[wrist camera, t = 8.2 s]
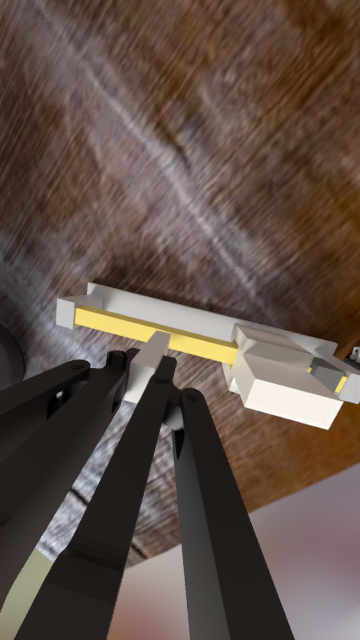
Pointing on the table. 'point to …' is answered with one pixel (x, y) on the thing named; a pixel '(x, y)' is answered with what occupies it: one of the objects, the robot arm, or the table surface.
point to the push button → (354, 359)
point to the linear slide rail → (196, 325)
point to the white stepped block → (278, 378)
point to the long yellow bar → (190, 341)
